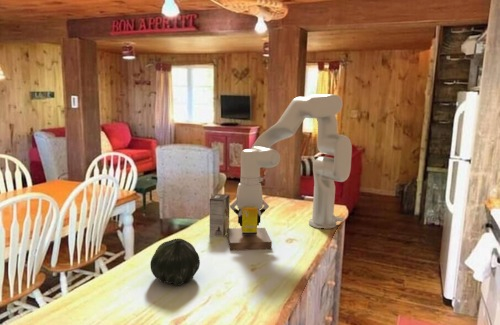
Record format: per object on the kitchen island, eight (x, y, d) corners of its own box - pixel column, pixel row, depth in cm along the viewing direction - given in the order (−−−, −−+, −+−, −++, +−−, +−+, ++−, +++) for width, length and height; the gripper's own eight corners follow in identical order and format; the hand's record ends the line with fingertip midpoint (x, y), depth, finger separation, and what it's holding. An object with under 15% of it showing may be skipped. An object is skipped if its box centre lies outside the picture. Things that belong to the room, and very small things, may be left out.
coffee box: (215, 228, 171) (215, 193, 169) (229, 230, 170) (230, 194, 167) (209, 236, 163) (209, 198, 160) (223, 237, 161) (224, 199, 159)
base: (264, 234, 166) (264, 227, 165) (271, 249, 150) (271, 241, 150) (227, 235, 164) (227, 228, 163) (230, 250, 148) (230, 242, 148)
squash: (160, 250, 133) (153, 228, 121) (204, 253, 133) (200, 232, 121) (151, 291, 124) (142, 272, 113) (197, 294, 124) (193, 276, 112)
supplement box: (241, 229, 159) (241, 203, 157) (255, 229, 160) (256, 203, 158) (242, 234, 153) (242, 207, 151) (257, 234, 154) (257, 207, 152)
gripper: (270, 178, 158) (268, 221, 161) (227, 178, 155) (226, 222, 159) (273, 182, 150) (272, 227, 153) (228, 183, 148) (228, 228, 151)
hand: (249, 224), depth 156 cm, fingers closed on supplement box, 6 cm apart
